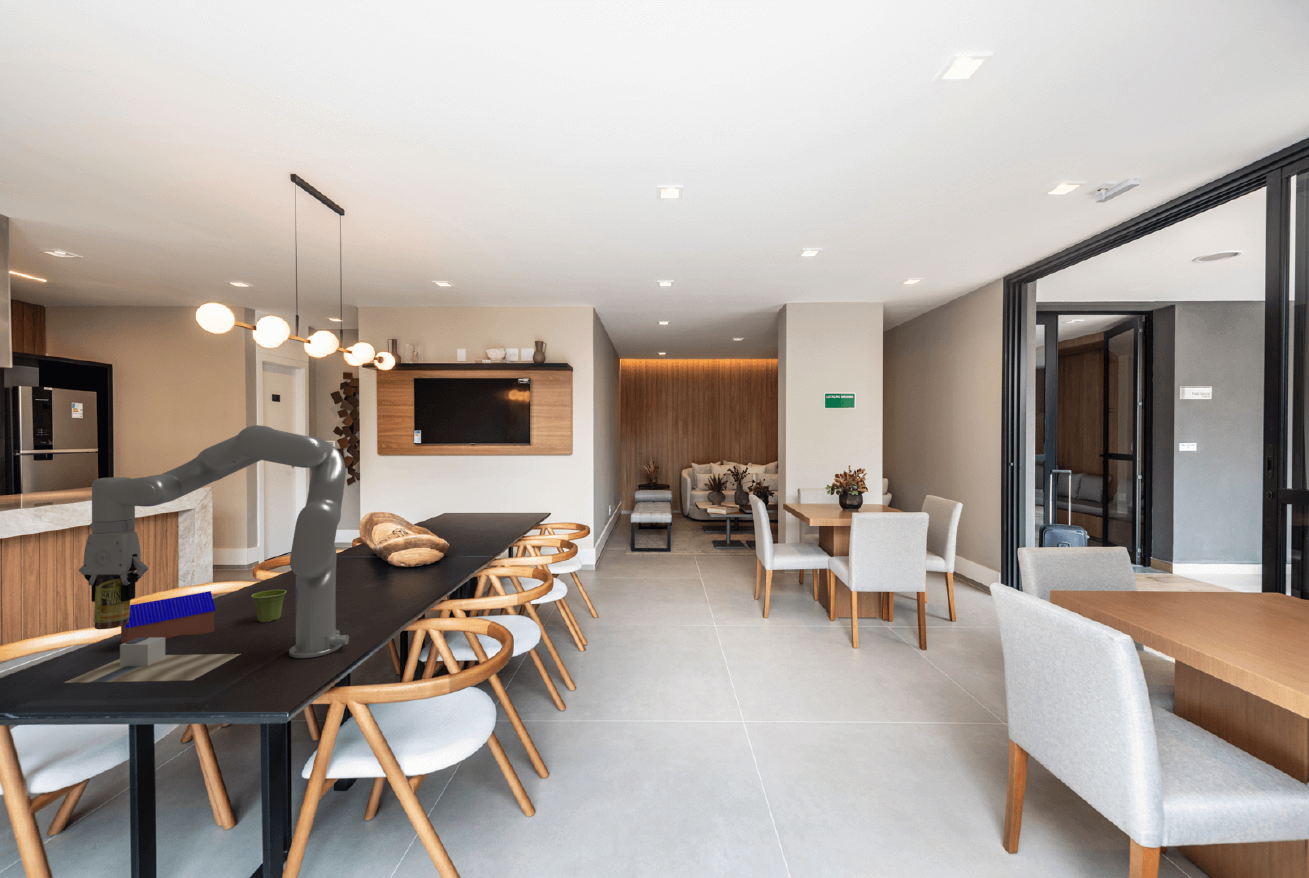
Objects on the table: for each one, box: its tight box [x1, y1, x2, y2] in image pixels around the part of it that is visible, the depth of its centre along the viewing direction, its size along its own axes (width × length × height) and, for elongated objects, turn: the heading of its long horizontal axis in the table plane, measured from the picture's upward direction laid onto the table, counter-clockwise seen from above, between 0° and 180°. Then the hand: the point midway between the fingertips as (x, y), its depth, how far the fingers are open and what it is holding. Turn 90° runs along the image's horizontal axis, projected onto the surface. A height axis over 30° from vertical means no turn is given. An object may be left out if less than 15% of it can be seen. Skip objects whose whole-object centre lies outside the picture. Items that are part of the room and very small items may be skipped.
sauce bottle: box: [93, 574, 131, 631], centre depth 133 cm, size 6×6×20 cm
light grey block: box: [119, 637, 166, 666], centre depth 140 cm, size 7×5×6 cm
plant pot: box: [251, 589, 288, 623], centre depth 177 cm, size 9×9×9 cm
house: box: [120, 590, 217, 644], centre depth 162 cm, size 12×20×12 cm, turn 141°
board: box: [63, 653, 241, 684], centre depth 137 cm, size 30×16×1 cm, turn 92°
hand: (113, 599), depth 133 cm, fingers closed on sauce bottle, 6 cm apart
